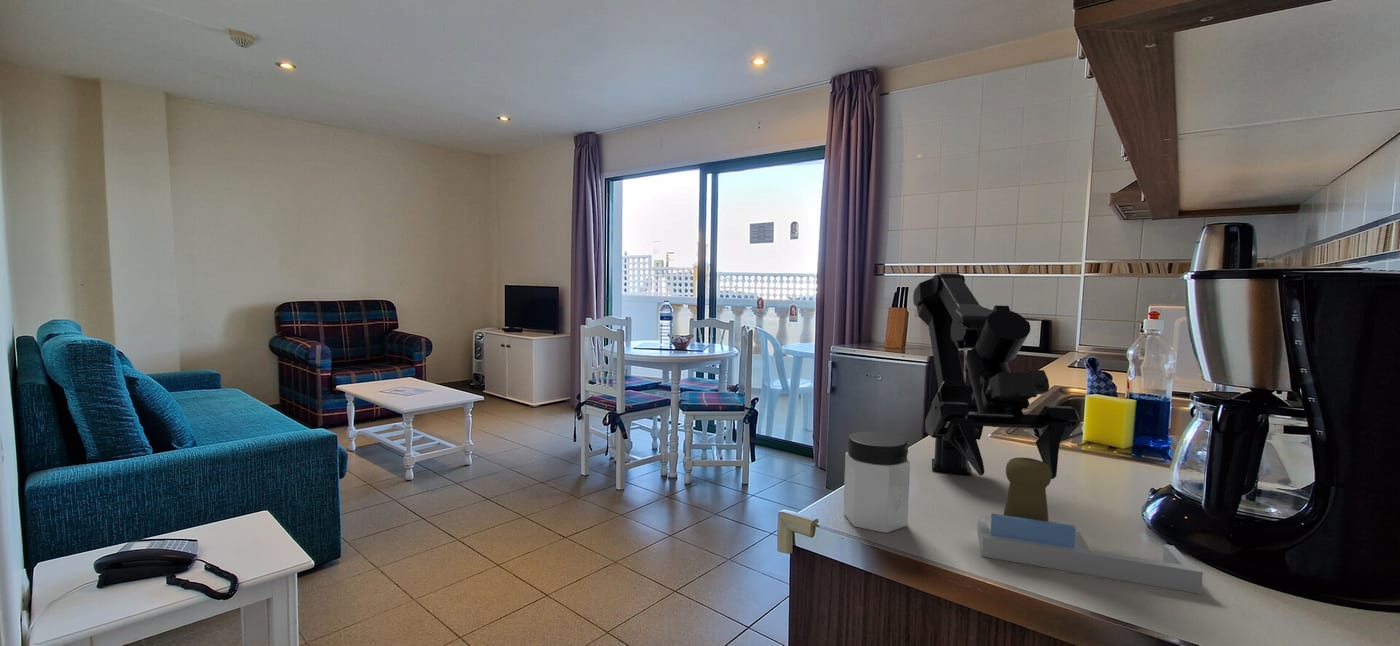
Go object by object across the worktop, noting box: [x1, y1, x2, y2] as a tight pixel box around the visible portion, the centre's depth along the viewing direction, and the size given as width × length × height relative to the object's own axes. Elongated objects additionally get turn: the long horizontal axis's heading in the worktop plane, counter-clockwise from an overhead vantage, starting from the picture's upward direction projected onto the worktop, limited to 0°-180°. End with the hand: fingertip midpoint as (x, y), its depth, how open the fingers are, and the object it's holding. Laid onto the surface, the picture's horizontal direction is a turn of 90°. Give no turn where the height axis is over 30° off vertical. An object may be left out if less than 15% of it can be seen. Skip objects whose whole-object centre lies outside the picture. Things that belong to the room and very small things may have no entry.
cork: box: [1002, 456, 1052, 522], centre depth 75 cm, size 6×6×11 cm
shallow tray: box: [976, 513, 1204, 595], centre depth 72 cm, size 9×22×5 cm, turn 68°
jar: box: [843, 431, 911, 534], centre depth 82 cm, size 9×8×12 cm
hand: (1017, 475), depth 78 cm, fingers open, 9 cm apart
